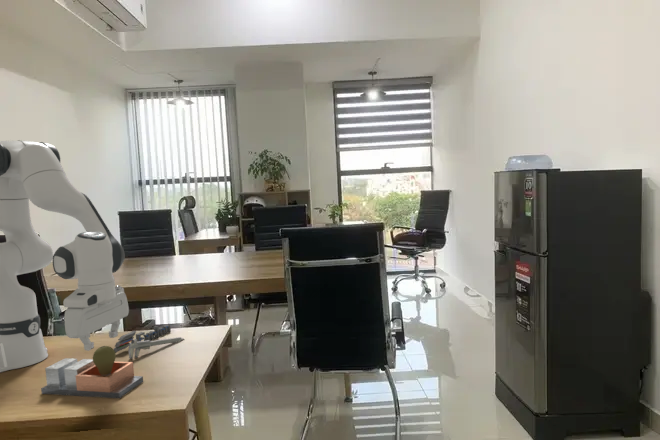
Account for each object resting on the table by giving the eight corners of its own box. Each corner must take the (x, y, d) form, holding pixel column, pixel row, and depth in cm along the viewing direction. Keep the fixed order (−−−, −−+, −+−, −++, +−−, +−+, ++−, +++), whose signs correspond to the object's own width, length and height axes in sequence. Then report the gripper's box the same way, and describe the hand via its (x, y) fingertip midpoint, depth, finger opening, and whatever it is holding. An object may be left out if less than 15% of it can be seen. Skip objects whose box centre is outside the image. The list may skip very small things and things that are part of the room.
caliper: (131, 360, 147) (129, 341, 146) (129, 359, 148) (127, 340, 147) (184, 340, 163) (183, 322, 163) (182, 339, 164) (181, 322, 164)
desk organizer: (41, 393, 125) (39, 370, 124) (69, 377, 135) (67, 356, 134) (119, 398, 120) (117, 374, 119) (143, 381, 129) (141, 359, 129)
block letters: (116, 356, 151) (114, 339, 150) (112, 356, 151) (110, 339, 151) (170, 332, 173) (169, 317, 173) (167, 331, 174) (166, 317, 174)
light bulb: (103, 388, 122) (99, 351, 121) (91, 384, 125) (87, 348, 124) (122, 380, 127) (119, 344, 126) (110, 376, 130) (106, 341, 129)
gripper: (113, 283, 135) (117, 330, 136) (57, 302, 115) (63, 356, 116) (132, 283, 133) (136, 330, 135) (79, 303, 114) (84, 358, 115)
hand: (101, 343), depth 125 cm, fingers open, 8 cm apart
